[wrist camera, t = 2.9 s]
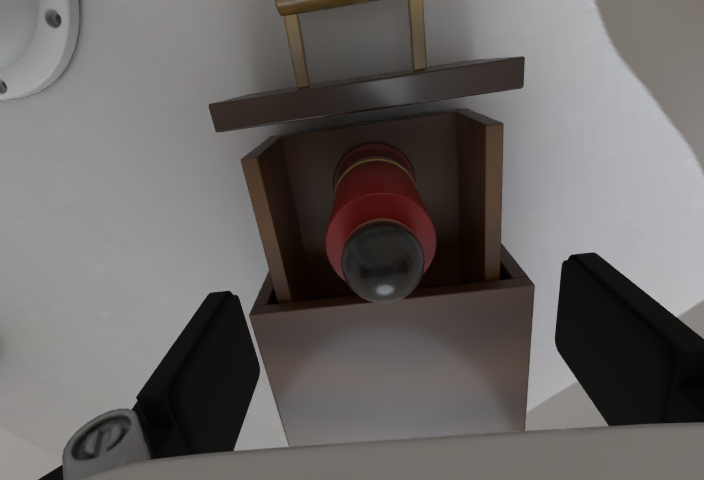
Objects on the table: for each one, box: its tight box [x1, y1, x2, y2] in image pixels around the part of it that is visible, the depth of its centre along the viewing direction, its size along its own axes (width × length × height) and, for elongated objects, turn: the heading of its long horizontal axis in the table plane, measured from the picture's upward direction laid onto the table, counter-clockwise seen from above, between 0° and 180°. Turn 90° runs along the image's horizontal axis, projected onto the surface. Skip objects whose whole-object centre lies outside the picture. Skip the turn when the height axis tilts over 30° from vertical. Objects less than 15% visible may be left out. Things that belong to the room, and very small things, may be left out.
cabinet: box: [249, 243, 535, 447], centre depth 26 cm, size 16×14×9 cm
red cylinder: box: [326, 142, 436, 303], centre depth 18 cm, size 5×5×12 cm
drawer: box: [209, 0, 525, 304], centre depth 21 cm, size 19×13×7 cm
